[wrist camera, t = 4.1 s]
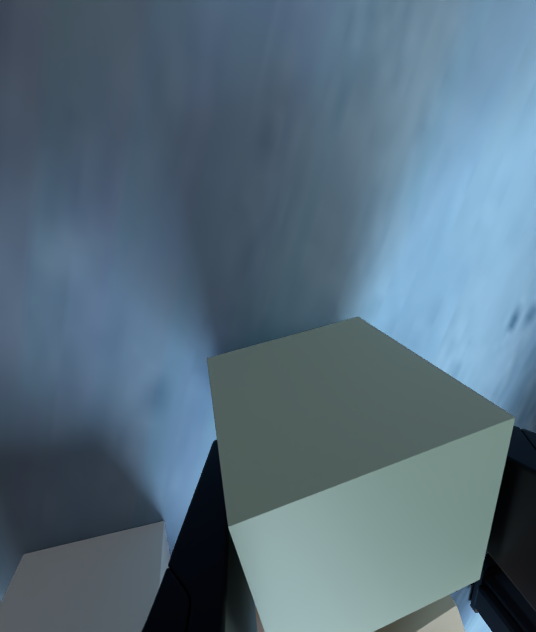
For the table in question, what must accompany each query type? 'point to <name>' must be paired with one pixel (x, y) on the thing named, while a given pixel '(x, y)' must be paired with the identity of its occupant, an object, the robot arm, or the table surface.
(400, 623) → the beech cube
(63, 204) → the table surface
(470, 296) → the table surface
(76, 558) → the white cube
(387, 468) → the sage cube
